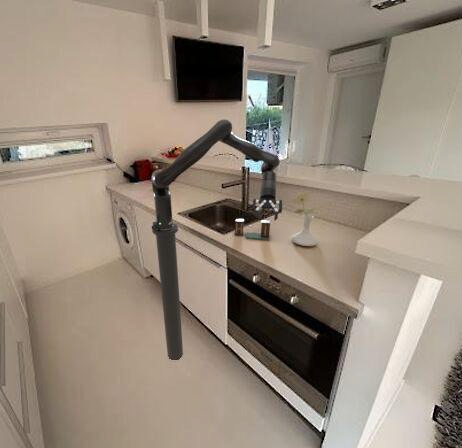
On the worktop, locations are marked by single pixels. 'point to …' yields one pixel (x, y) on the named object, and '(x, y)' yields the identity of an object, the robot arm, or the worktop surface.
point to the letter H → (239, 227)
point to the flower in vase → (304, 236)
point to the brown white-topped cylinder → (265, 228)
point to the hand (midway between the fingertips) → (266, 219)
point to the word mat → (255, 236)
